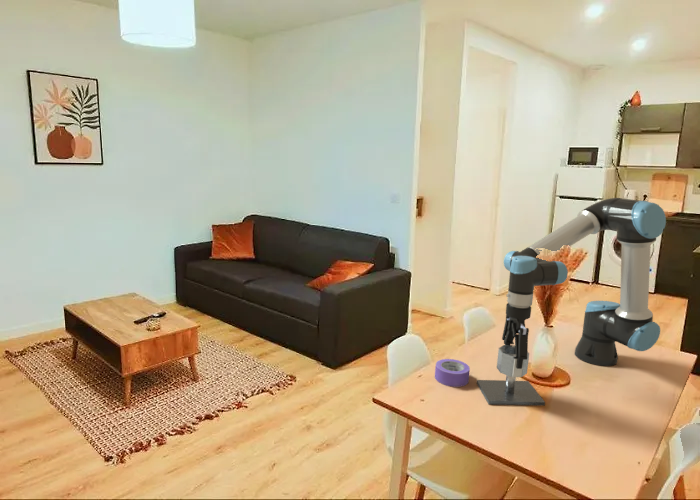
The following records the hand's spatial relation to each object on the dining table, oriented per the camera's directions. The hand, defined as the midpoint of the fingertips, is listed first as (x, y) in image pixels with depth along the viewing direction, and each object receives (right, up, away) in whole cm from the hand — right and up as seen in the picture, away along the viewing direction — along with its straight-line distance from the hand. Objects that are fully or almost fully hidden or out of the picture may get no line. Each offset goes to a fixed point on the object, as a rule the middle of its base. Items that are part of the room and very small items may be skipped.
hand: (511, 369), depth 154 cm
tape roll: (-17, -6, +11) cm, 22 cm away
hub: (0, 0, 0) cm, 0 cm away
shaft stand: (0, -9, +2) cm, 9 cm away
